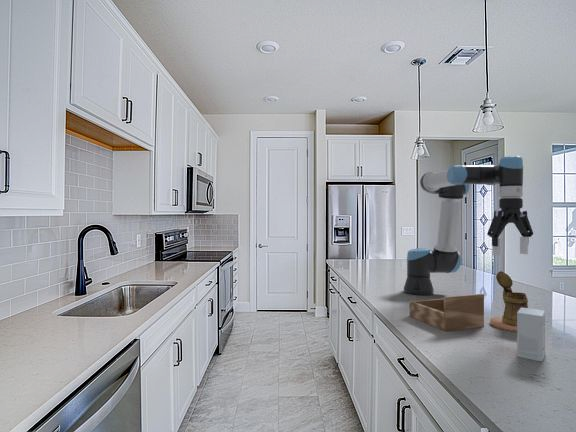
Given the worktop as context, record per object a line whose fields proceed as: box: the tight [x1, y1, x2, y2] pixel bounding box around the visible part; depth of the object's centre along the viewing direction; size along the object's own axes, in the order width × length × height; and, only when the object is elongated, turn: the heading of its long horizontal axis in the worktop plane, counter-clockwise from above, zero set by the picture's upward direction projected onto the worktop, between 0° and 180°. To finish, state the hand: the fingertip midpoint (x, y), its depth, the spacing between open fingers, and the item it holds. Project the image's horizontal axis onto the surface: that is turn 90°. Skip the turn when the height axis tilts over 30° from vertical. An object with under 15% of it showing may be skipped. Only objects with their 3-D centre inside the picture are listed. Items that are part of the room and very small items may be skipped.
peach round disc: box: [489, 316, 517, 333], centre depth 136 cm, size 14×14×2 cm
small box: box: [516, 307, 546, 362], centre depth 107 cm, size 8×6×13 cm
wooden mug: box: [495, 270, 529, 326], centre depth 136 cm, size 9×14×18 cm, turn 5°
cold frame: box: [409, 293, 485, 332], centre depth 142 cm, size 20×17×12 cm
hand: (510, 254), depth 136 cm, fingers open, 13 cm apart
